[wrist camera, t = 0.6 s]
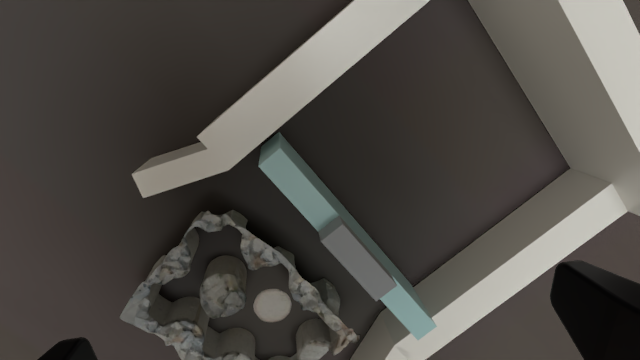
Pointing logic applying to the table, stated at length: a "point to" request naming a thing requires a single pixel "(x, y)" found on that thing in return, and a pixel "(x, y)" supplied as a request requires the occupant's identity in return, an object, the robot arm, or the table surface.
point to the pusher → (343, 235)
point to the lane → (547, 100)
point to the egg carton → (233, 300)
